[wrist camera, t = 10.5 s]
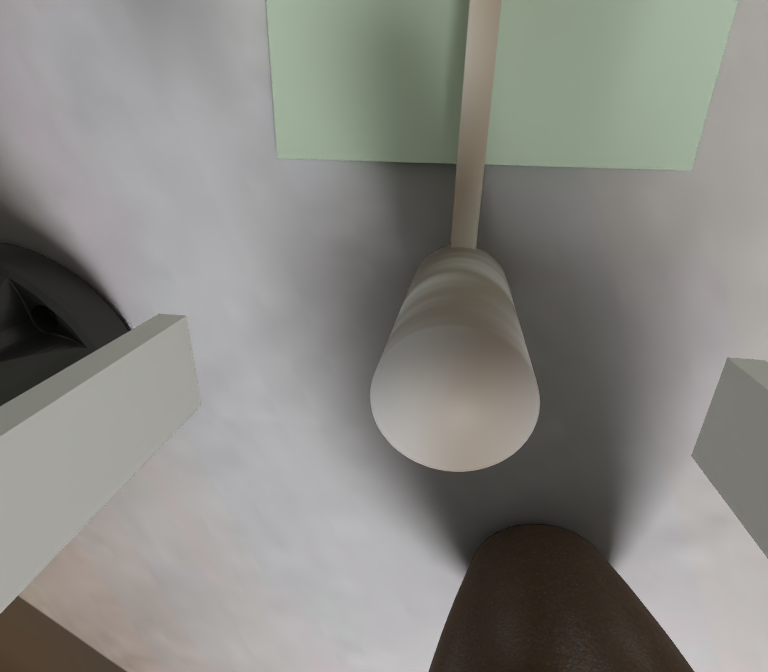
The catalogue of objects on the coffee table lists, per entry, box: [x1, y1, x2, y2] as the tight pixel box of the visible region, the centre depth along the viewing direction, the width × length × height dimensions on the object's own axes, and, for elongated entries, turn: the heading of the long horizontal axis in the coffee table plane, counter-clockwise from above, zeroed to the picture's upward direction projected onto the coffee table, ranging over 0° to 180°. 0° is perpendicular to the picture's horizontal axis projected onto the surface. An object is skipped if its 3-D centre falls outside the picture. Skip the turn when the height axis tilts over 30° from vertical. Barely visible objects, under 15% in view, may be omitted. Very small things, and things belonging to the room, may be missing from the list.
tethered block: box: [370, 0, 540, 472], centre depth 12 cm, size 5×20×9 cm, turn 179°
